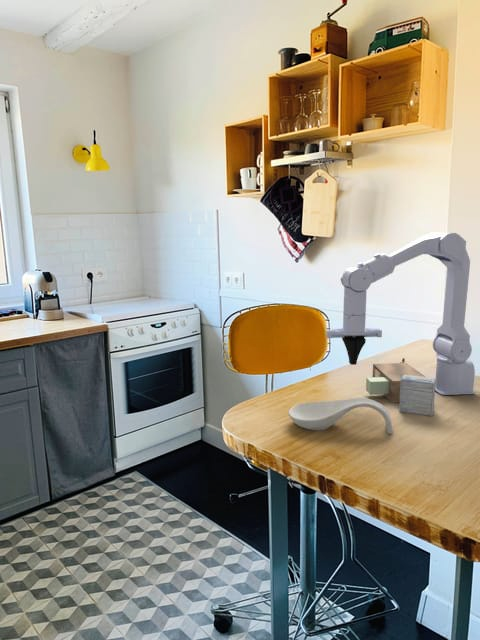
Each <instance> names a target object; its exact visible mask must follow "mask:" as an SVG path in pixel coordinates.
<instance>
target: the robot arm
mask: <svg viewBox="0 0 480 640" xmlns="http://www.w3.org/2000/svg"><path fill="white" fill-rule="evenodd" d="M466 247H467V241H466V239H464V238H463V237H462V236H461V235H460V234H459V233H456V232H437V231H435V232H429V233H428V234H426V235H422V236H420V237H419V238H417V239H416V240H413V241H412V242H410V243H409V244H407V245H405V246H403V247H402V248H400V249H398V250H397V251H396V250H395V251H394V252H392V253H390V254H389V255H388V254H386V253H376V254H374V255H373V258H371V259H368V260H367V261H364V262H359V263H357V267H354V266H352V267H348V268H347V269H345V271H344V272H343V274H342V276H341V277H340V283H341V285H342V286H343V288H344V290H343V293H344V294H343V309H342V310H343V315H342V318H343V319H342V328H334V329H326V330H325V337H326V338H327V339H333V338H334V339H335V338H336V339H337V338H338V339H339V338H341V340H342V342H343V344H344V346H345V349H346V352H347V356H348V363H349V364H350V365H351V366H353V365H357V362H358V360H359V355H360V353H361V351H362V349H363V347H364V346H365V344H366V341H367V340H366V338H376V337H377V338H382V336H383V330H382V329H381V328H366V318H367V317H366V314H367V290H368V289H369V288H370V286H371V285H372V284H373V283H376V282H378V281H379V280H382V279H384V278H385V277H388V276H389V275H391V274H393V273H394V271H395V268H396V267H397V266H399V265H402V264H404V263H406V262H408V261H410V260H413V259H415V258H417V257H420V256H421V255H428V256H431V257H432V258H435V259H436V260H439V261H440V262H441V263H442V264H443V265H444V266H445V267H446V268H447V269H446V278H445V279H446V280H445V281H446V282H445V291H444V301H443V302H444V303H443V304H444V305H443V313H442V324H441V325H440V326H438V328H437V330H436V335H435V338H433V341H432V348H433V350H434V352H435V353H436V367H435V368H436V369H435V379H436V381H435V392H437V393H438V394H440V395H442V396H452V395H453V396H454V395H455V396H456V395H457V396H458V395H474V394H476V393H475V391H474V383H475V374H476V371H475V366H474V363H473V361H472V360H471V359H469V358H470V357H471V355H472V350H473V349H472V348H473V347H472V345H471V342H470V337H471V336H470V333H469V332H468V330H467V329H466V327H465V321H466V319H465V318H466V311H467V310H466V309H467V298H468V290H469V278H470V277H469V276H470V268H471V267H470V266H471V260H470V259H471V258H470V257H469V253H468V252H467V251H468V250H467V248H466Z"/></svg>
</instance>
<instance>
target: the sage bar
mask: <svg viewBox="0 0 480 640" xmlns="http://www.w3.org/2000/svg"><path fill="white" fill-rule="evenodd" d="M389 381H390V380H388V379H387V378H386V377H373V376H372V377H366V382H365V391H366V392H367V393H368V394H369V395H373V396H374V395H384V394H389Z"/></svg>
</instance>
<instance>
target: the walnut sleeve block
mask: <svg viewBox="0 0 480 640" xmlns="http://www.w3.org/2000/svg"><path fill="white" fill-rule="evenodd" d="M375 370H378V371H379V372H380V373H381V375H380V377H386V378H387V379H388V380H390V381H389V394H383V395H384V397H386V398H387V399H388V400H389V401H390V402H391V403H400V388H401V379H402V377H403V375H413V376H422V377H426V375H424V374H423V373H421V372H420V371H418V370H417V369H415V368H414V367H412V366H411V365H410V364H409V363H408V362H406V363H405V362H404V363H402V362H401V363H400V362H399V363H398V362H396V363H394V362H393V363H390V362H389V363H373V364H372V377H375Z"/></svg>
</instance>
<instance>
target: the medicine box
mask: <svg viewBox="0 0 480 640" xmlns="http://www.w3.org/2000/svg"><path fill="white" fill-rule="evenodd" d="M435 381H436V377H429V376H428V377H427V376H425V377H422V376H413V375H403V377H402V379H401V388H400V402H399V411H398V412H401V413H409V414H415V415H422V416H429V417H433V415H434V411H435V398H436V396H435V395H436V393H435V392H436V391H435Z"/></svg>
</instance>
